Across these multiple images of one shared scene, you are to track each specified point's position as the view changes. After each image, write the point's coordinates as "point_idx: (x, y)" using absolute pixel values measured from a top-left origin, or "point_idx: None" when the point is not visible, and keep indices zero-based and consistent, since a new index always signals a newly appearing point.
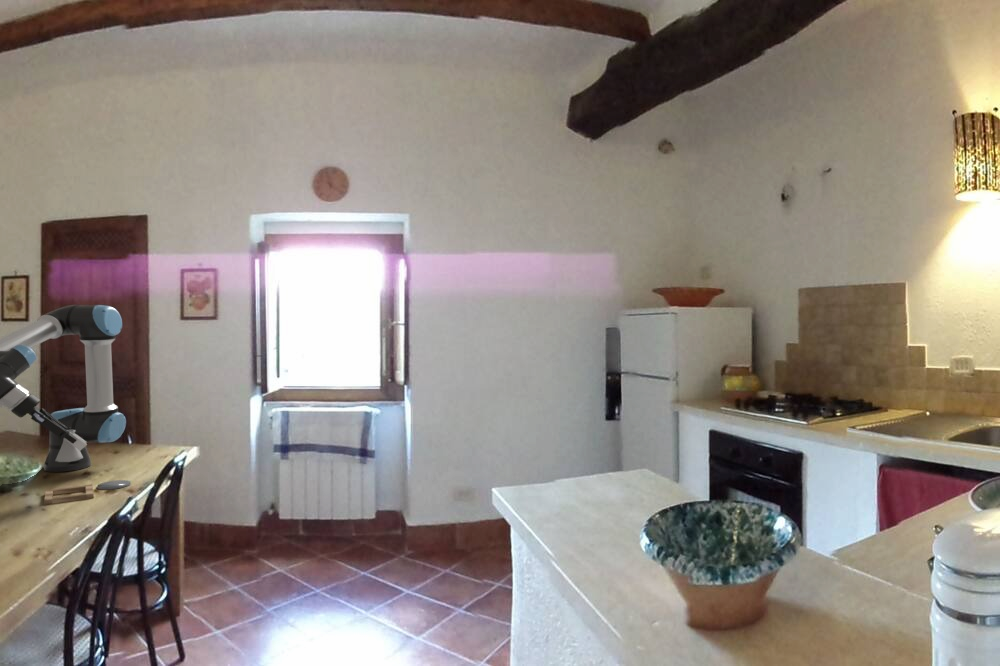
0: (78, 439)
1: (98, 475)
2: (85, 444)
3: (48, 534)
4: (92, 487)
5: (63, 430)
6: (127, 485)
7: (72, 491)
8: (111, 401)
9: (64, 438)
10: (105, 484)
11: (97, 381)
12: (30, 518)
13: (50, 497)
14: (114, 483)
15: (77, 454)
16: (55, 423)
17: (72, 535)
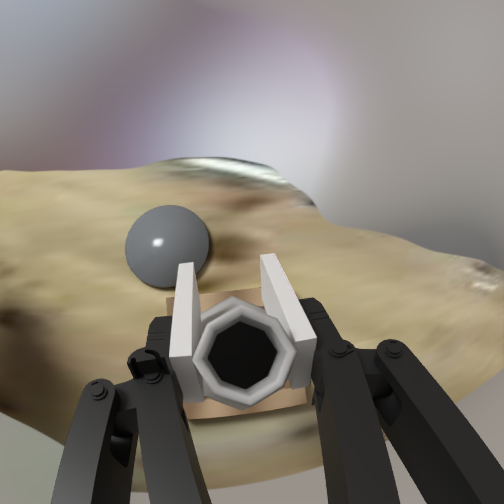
0: (290, 289)
1: (34, 291)
2: (275, 260)
3: (490, 322)
4: (209, 294)
5: (418, 366)
6: (190, 212)
7: None
8: None
9: (310, 376)
10: (157, 265)
11: None
12: None
13: (282, 394)
14: (158, 243)
15: (265, 313)
16: (388, 471)
17: (497, 284)
